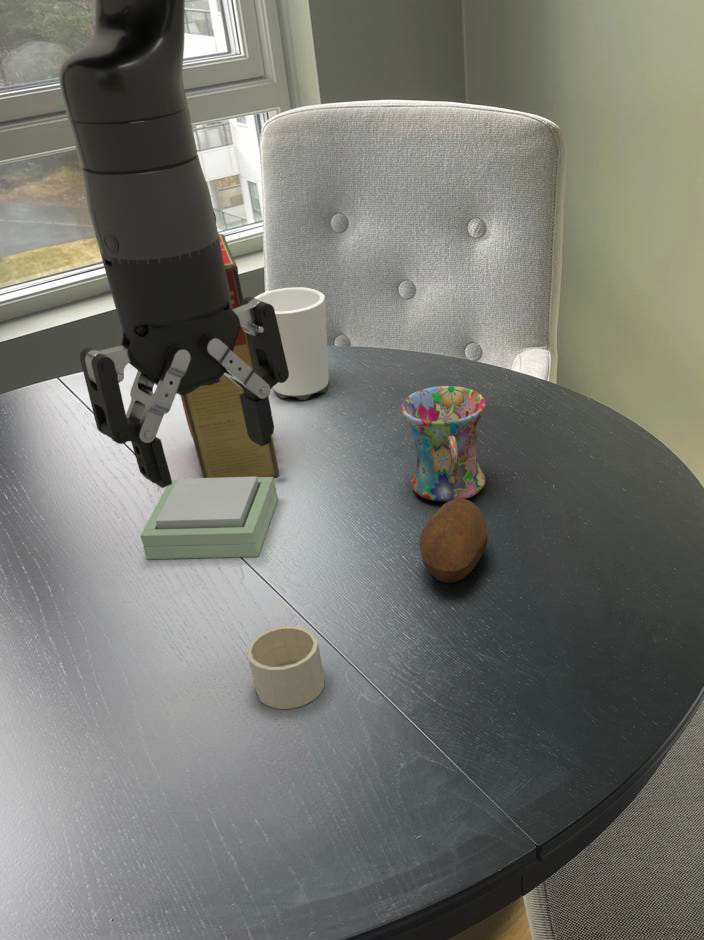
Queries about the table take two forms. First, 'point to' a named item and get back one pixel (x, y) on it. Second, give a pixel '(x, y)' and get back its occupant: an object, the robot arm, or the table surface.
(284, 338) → the cup
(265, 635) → the beige round pot
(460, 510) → the potato
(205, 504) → the pan
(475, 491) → the mug
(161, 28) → the robot arm
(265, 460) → the food packaging
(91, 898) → the table surface
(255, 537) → the scale
